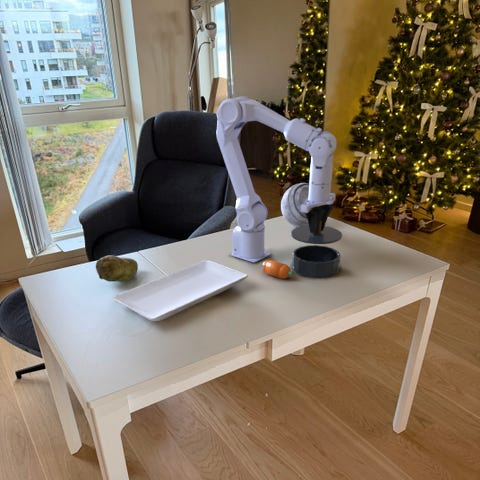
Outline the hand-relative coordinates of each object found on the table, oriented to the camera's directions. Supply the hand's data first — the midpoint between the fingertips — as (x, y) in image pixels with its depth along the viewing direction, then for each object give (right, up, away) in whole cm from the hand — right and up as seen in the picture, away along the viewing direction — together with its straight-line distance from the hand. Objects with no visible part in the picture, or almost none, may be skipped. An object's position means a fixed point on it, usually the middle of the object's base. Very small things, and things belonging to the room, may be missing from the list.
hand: (316, 231), depth 125 cm
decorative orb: (0, +9, +36) cm, 37 cm away
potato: (-55, -14, -1) cm, 56 cm away
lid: (0, -1, 0) cm, 1 cm away
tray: (-36, -19, -10) cm, 42 cm away
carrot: (-11, -12, 0) cm, 17 cm away
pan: (0, -10, +4) cm, 10 cm away
